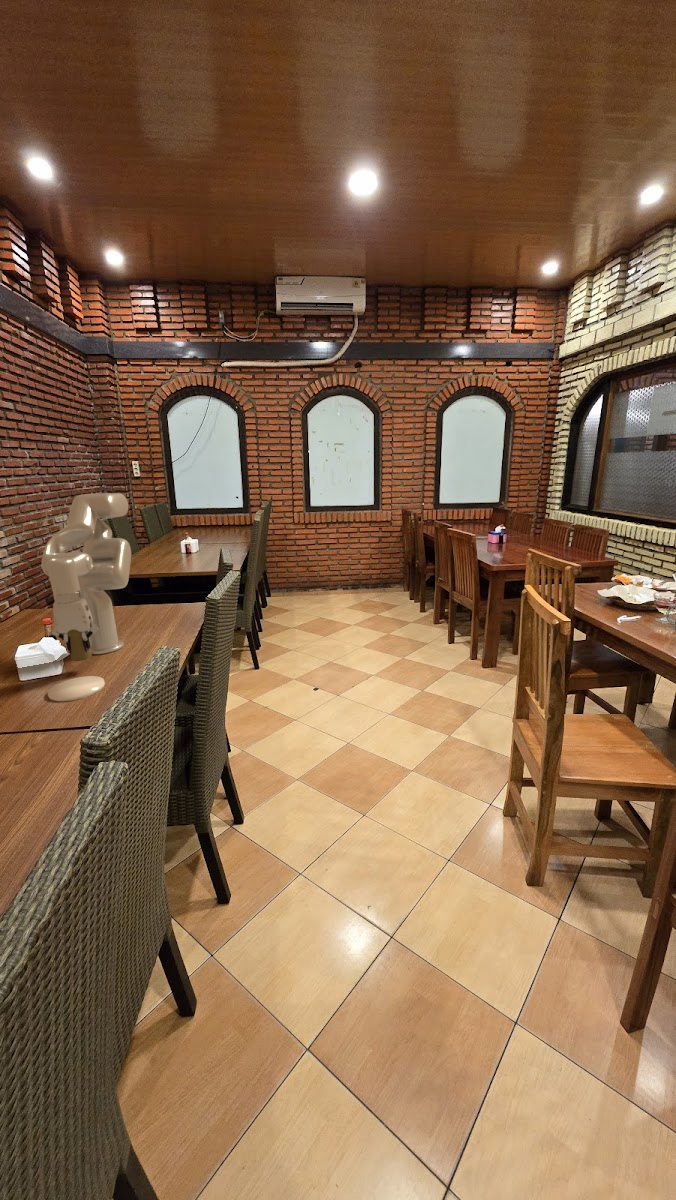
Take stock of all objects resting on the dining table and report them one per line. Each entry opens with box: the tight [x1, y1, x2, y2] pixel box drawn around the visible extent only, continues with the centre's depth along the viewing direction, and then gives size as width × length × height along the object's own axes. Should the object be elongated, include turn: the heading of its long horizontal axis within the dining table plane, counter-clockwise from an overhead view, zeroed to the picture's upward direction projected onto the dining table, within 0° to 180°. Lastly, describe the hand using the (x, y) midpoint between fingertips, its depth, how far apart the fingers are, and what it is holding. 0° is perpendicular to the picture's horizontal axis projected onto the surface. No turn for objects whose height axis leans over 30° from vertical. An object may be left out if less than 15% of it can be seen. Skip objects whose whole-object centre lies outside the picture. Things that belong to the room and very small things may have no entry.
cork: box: [67, 629, 93, 662], centre depth 154 cm, size 6×6×11 cm
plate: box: [47, 675, 106, 702], centre depth 142 cm, size 15×15×1 cm
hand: (79, 650), depth 155 cm, fingers closed on cork, 3 cm apart
